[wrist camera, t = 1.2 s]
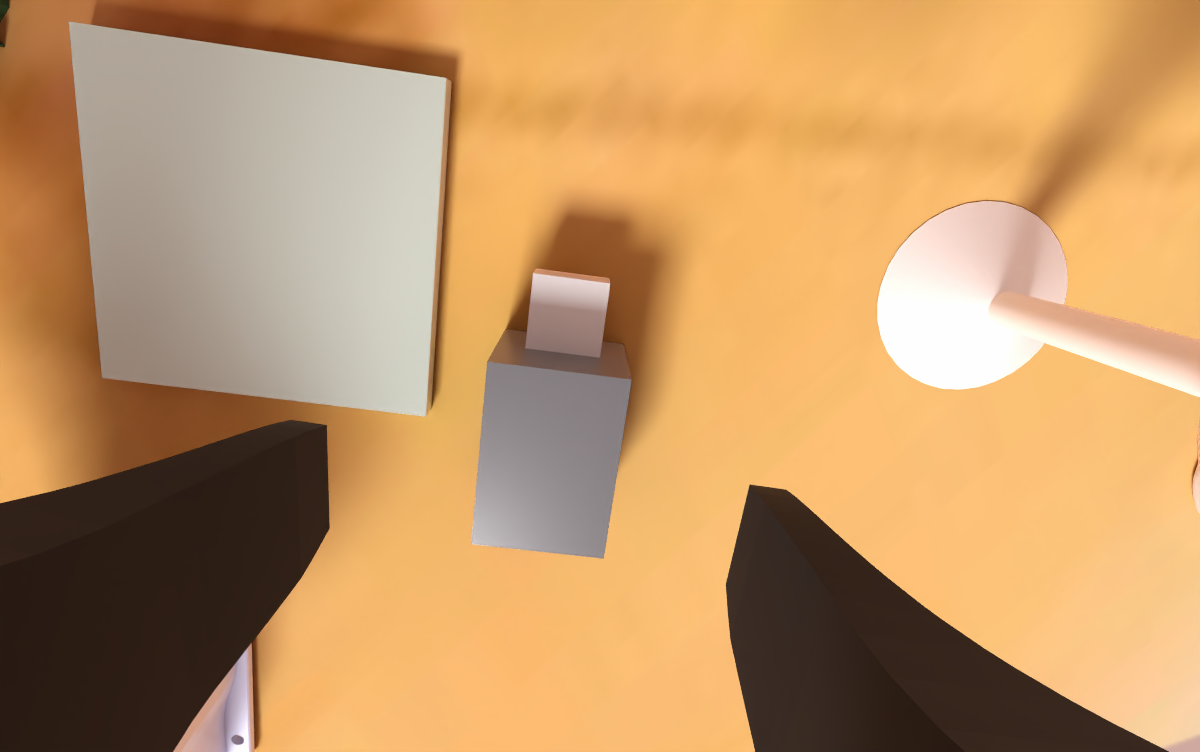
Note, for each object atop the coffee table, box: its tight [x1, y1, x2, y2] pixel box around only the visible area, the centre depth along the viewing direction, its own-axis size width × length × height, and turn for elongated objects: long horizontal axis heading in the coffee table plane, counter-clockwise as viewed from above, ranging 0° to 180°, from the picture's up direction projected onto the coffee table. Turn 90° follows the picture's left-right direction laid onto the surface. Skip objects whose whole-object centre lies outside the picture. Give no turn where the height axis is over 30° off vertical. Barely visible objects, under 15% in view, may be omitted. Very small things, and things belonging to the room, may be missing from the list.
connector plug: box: [471, 268, 632, 558], centre depth 21 cm, size 8×4×4 cm, turn 172°
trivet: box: [69, 22, 452, 417], centre depth 21 cm, size 11×11×1 cm
